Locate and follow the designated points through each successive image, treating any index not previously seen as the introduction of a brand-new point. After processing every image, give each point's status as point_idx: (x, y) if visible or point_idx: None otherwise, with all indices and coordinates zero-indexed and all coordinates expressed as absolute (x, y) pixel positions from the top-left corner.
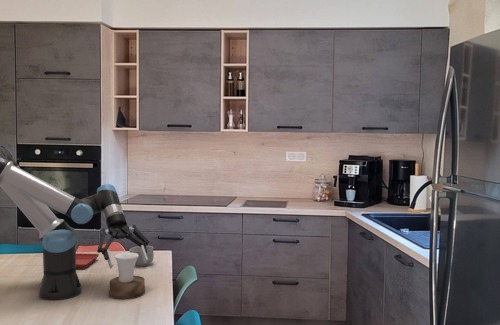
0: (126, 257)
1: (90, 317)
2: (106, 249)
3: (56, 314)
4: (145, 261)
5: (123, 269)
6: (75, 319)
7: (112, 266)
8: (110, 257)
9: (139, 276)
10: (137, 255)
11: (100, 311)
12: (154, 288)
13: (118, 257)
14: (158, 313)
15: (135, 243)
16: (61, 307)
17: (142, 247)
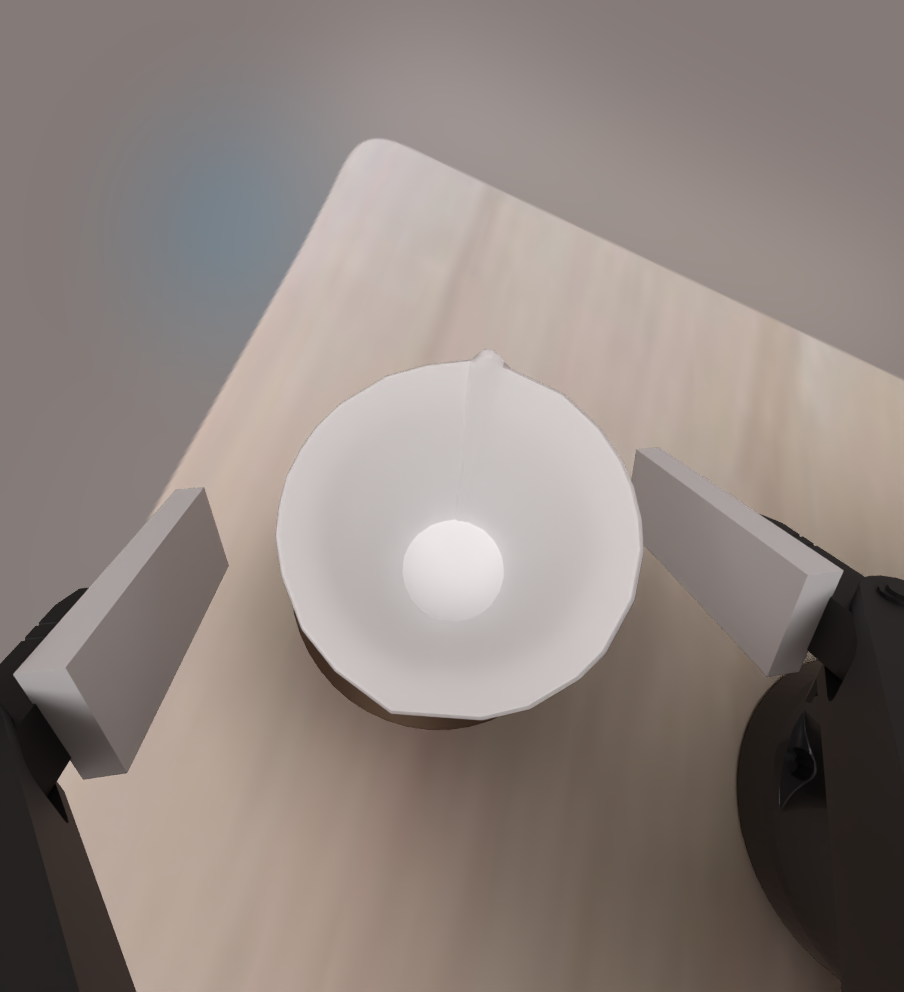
0: (431, 660)
1: (685, 309)
2: (867, 584)
3: (844, 421)
4: (212, 531)
5: (503, 485)
6: (751, 319)
7: (633, 485)
8: (711, 494)
9: (306, 638)
10: (300, 499)
11: (635, 358)
12: (226, 597)
13: (562, 626)
14: (380, 209)
15: (109, 932)
16: (833, 512)
17: (91, 623)
